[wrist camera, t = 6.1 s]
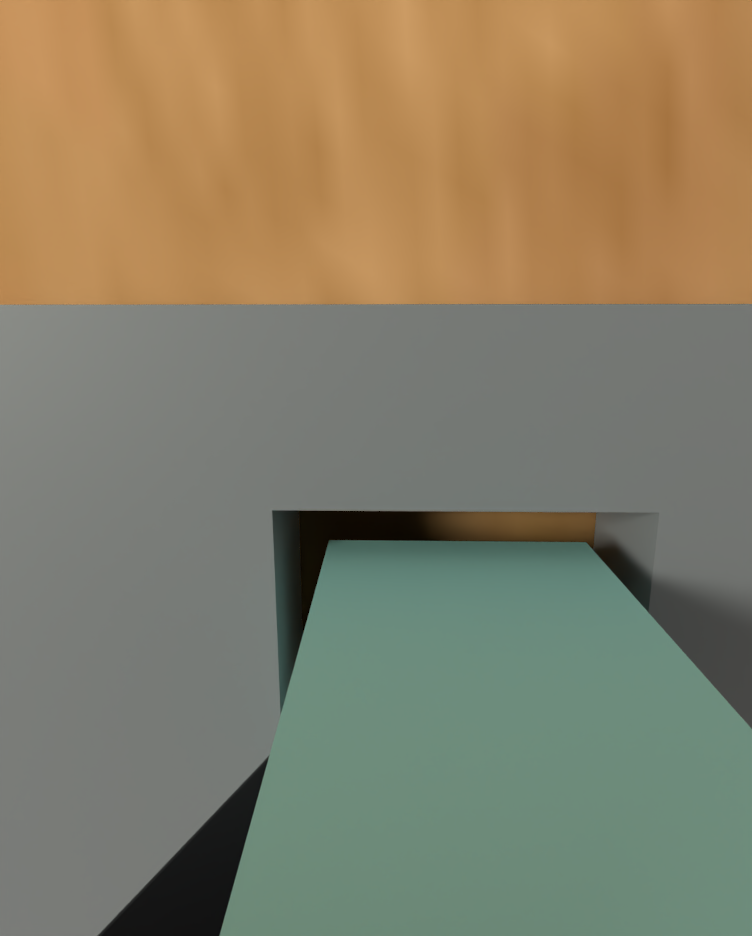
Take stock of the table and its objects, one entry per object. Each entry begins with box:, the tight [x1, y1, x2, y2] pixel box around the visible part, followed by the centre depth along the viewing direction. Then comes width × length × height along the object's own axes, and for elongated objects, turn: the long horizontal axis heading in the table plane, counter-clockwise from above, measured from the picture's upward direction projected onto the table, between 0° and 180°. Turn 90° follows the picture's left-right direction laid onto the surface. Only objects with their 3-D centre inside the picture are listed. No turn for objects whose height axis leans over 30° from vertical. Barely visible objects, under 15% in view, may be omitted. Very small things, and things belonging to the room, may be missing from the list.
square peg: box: [220, 540, 752, 936], centre depth 6 cm, size 4×4×8 cm
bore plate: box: [0, 304, 752, 936], centre depth 11 cm, size 11×20×2 cm, turn 90°
